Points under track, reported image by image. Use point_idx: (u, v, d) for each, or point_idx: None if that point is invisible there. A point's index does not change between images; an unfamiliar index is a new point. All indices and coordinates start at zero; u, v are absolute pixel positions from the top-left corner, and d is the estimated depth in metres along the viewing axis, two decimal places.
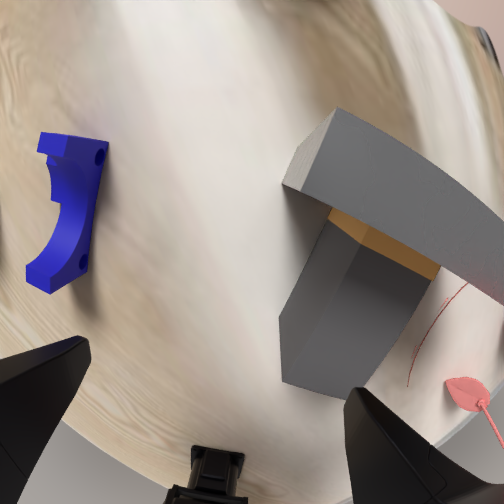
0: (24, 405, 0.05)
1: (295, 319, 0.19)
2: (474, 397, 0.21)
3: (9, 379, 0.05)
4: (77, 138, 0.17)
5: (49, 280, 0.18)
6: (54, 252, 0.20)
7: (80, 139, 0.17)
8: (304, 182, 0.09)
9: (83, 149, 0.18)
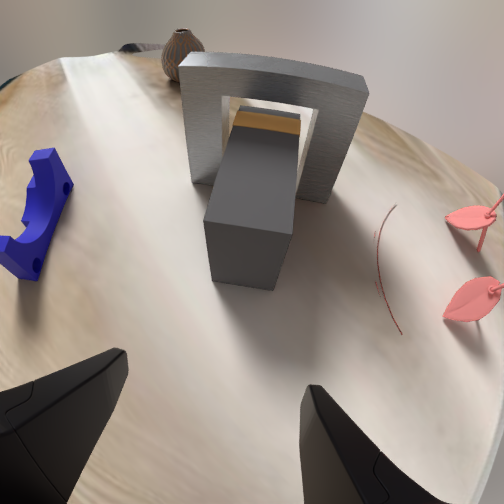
0: (66, 428, 0.05)
1: None
2: (482, 297, 0.20)
3: (51, 403, 0.05)
4: (58, 156, 0.24)
5: (8, 239, 0.18)
6: None
7: (59, 159, 0.24)
8: None
9: (58, 168, 0.24)
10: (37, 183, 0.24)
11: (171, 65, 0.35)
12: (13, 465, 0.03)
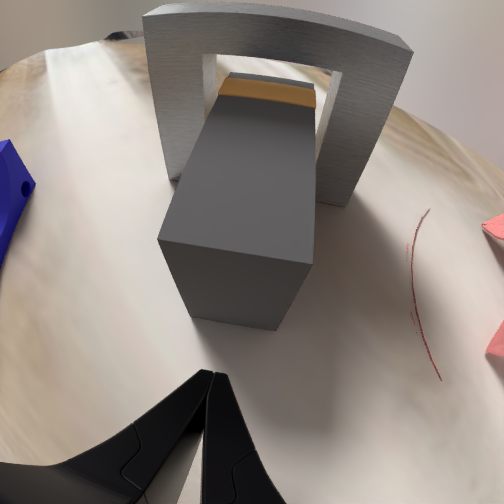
0: (177, 468, 0.05)
1: None
2: None
3: (168, 447, 0.05)
4: (14, 149, 0.17)
5: None
6: None
7: (16, 153, 0.17)
8: (144, 15, 0.10)
9: (15, 164, 0.17)
10: None
11: None
12: None
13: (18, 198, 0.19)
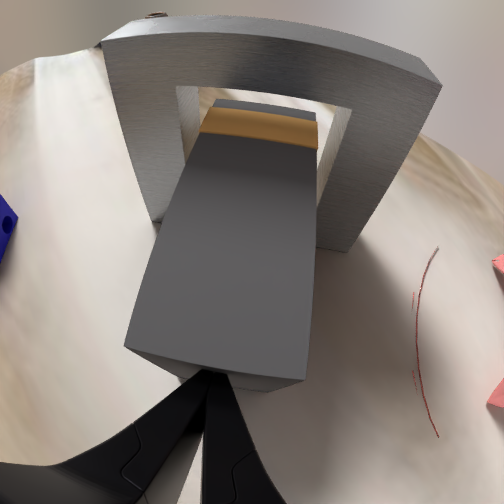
0: (177, 468, 0.05)
1: None
2: None
3: (168, 447, 0.05)
4: None
5: None
6: None
7: None
8: (104, 39, 0.08)
9: None
10: None
11: None
12: None
13: None
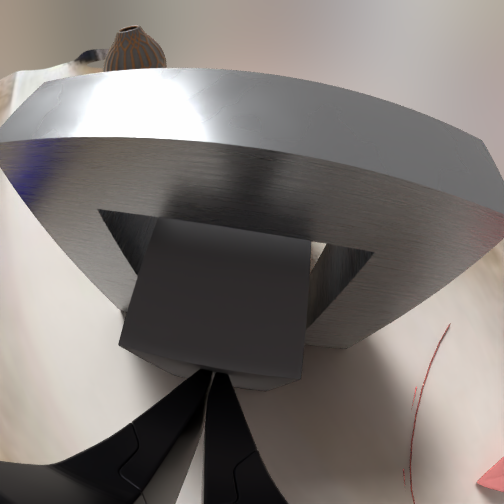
0: (175, 467, 0.05)
1: None
2: None
3: (166, 447, 0.05)
4: None
5: None
6: None
7: None
8: None
9: None
10: None
11: None
12: None
13: None
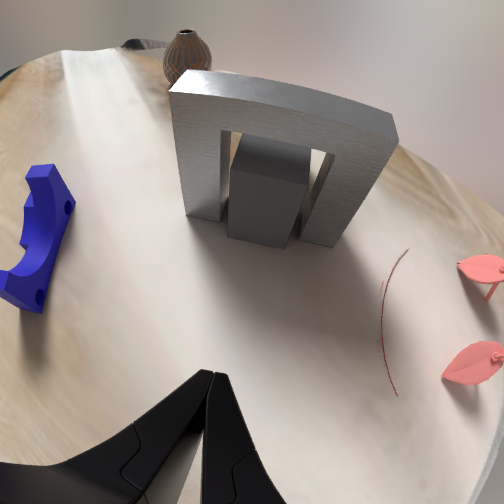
0: (177, 468, 0.05)
1: None
2: (484, 361, 0.17)
3: (167, 447, 0.05)
4: (58, 173, 0.22)
5: (7, 275, 0.16)
6: (15, 273, 0.18)
7: (59, 176, 0.22)
8: (170, 89, 0.15)
9: (59, 186, 0.22)
10: (35, 202, 0.22)
11: (173, 70, 0.32)
12: None
13: (62, 217, 0.23)
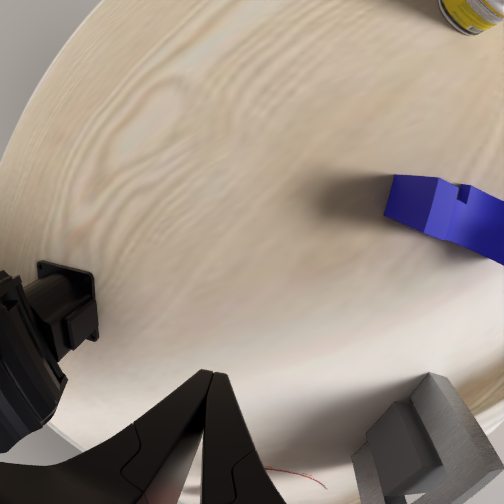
0: (177, 468, 0.05)
1: (425, 435, 0.19)
2: None
3: (167, 447, 0.05)
4: None
5: (440, 237, 0.13)
6: None
7: None
8: (491, 471, 0.09)
9: None
10: None
11: None
12: None
13: None
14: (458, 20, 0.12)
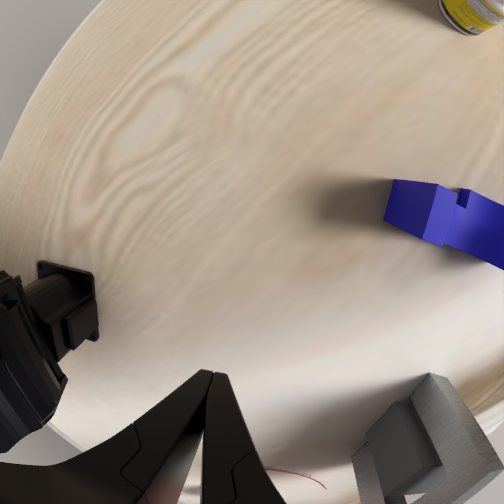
0: (177, 468, 0.05)
1: (425, 435, 0.19)
2: None
3: (167, 447, 0.05)
4: None
5: (438, 244, 0.13)
6: None
7: None
8: (490, 471, 0.09)
9: None
10: None
11: None
12: None
13: None
14: (458, 20, 0.12)
